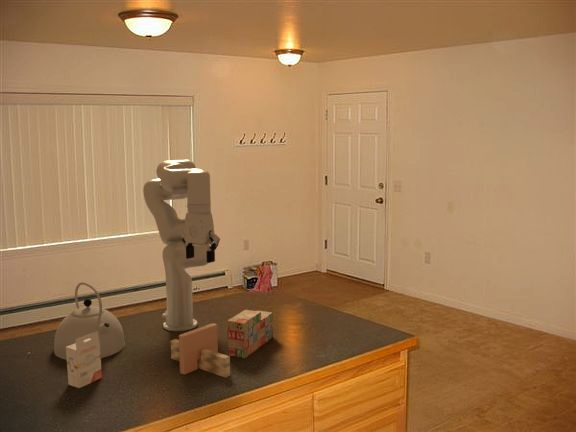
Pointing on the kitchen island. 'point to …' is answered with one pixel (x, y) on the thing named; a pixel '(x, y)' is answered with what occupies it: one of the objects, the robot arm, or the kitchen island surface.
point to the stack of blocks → (248, 332)
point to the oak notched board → (206, 360)
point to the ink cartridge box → (84, 360)
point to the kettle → (89, 327)
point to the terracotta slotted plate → (196, 346)
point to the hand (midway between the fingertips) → (200, 260)
